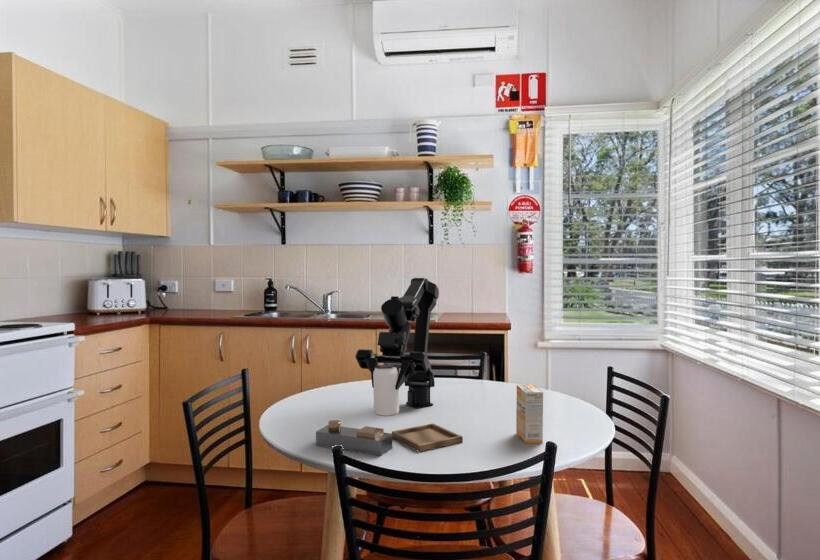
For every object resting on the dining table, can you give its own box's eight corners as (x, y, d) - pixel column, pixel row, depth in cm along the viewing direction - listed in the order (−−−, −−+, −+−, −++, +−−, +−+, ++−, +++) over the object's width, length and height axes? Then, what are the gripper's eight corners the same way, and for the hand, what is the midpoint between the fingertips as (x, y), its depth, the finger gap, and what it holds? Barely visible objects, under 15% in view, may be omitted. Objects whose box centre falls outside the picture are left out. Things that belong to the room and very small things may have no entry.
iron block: (315, 445, 131) (315, 423, 131) (329, 438, 137) (328, 416, 137) (381, 456, 124) (381, 432, 124) (392, 447, 130) (392, 425, 130)
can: (398, 416, 133) (397, 368, 133) (372, 416, 134) (371, 369, 133) (400, 409, 140) (399, 364, 139) (375, 409, 140) (374, 364, 140)
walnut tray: (432, 428, 145) (432, 423, 145) (462, 442, 134) (462, 436, 134) (391, 437, 138) (391, 431, 138) (419, 452, 127) (419, 445, 127)
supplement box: (515, 433, 141) (515, 384, 141) (533, 433, 142) (533, 384, 141) (524, 443, 133) (525, 391, 132) (543, 443, 133) (543, 391, 133)
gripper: (357, 319, 142) (341, 368, 132) (425, 321, 137) (414, 372, 127) (367, 343, 150) (353, 392, 140) (432, 346, 145) (422, 397, 135)
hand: (384, 388), depth 135 cm, fingers closed on can, 6 cm apart
